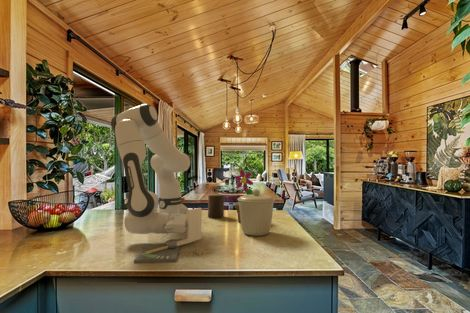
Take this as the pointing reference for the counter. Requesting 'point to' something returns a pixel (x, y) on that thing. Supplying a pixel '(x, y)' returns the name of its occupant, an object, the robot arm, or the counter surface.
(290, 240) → the counter surface
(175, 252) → the dial board
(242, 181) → the flowerpot
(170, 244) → the upright cream panel
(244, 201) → the canister
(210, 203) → the pillar candle
